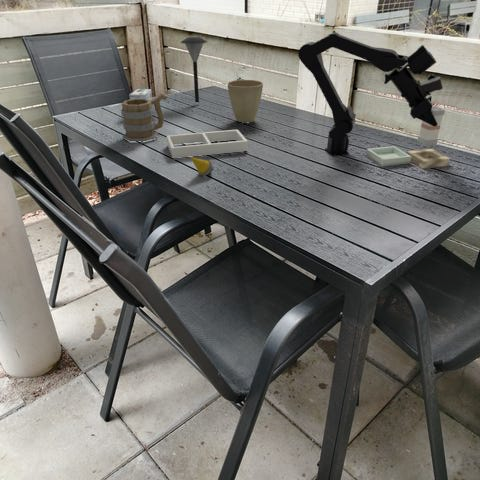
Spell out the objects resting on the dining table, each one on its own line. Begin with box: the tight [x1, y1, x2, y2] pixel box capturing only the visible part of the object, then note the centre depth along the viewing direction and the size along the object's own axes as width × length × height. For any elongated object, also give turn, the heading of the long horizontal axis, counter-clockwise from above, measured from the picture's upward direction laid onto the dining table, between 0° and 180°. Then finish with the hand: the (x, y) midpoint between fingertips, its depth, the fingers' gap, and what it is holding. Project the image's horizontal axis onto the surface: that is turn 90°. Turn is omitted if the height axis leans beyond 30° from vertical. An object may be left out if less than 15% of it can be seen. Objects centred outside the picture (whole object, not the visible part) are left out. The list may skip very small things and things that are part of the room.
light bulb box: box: [128, 88, 154, 107], centre depth 196 cm, size 11×7×11 cm, turn 172°
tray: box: [365, 145, 412, 168], centre depth 150 cm, size 11×11×2 cm
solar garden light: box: [180, 36, 208, 103], centre depth 207 cm, size 12×12×30 cm
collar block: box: [406, 148, 451, 170], centre depth 148 cm, size 10×10×2 cm
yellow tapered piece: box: [189, 157, 214, 177], centre depth 138 cm, size 5×5×10 cm
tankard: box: [120, 93, 168, 142], centre depth 170 cm, size 20×13×15 cm, turn 131°
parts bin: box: [166, 129, 249, 159], centre depth 160 cm, size 27×14×4 cm, turn 105°
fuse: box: [416, 106, 446, 146], centre depth 142 cm, size 4×4×11 cm
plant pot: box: [227, 79, 264, 124], centre depth 186 cm, size 15×15×16 cm
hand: (435, 123), depth 141 cm, fingers closed on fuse, 5 cm apart
